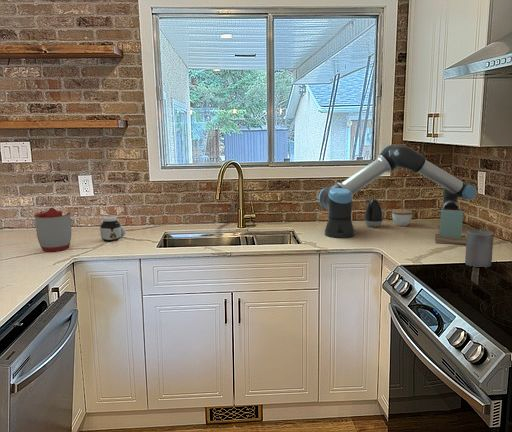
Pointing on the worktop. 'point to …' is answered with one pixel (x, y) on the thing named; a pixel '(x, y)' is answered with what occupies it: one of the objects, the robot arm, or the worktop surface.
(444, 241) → the board
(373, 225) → the black rounded cone
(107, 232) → the spread jar
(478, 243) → the pillar candle
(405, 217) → the lidded jar
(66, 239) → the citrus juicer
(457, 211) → the tile
